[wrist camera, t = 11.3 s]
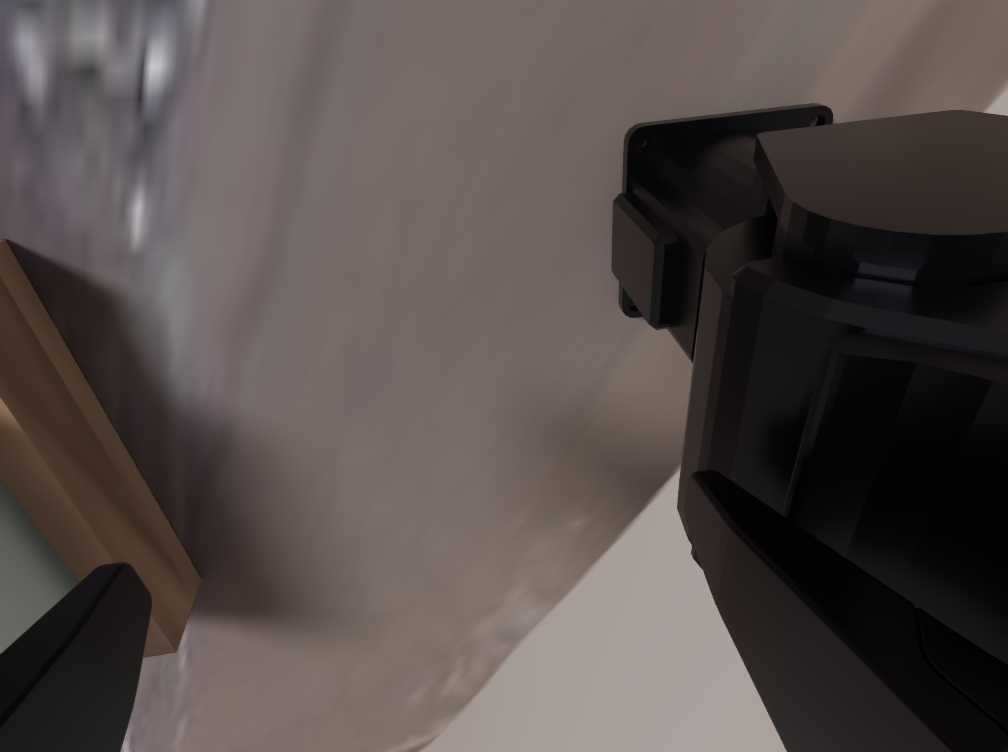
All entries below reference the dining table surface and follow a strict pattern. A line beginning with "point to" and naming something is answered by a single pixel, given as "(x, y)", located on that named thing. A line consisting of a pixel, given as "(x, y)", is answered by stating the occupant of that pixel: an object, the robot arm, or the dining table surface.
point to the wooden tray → (80, 464)
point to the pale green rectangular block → (26, 571)
